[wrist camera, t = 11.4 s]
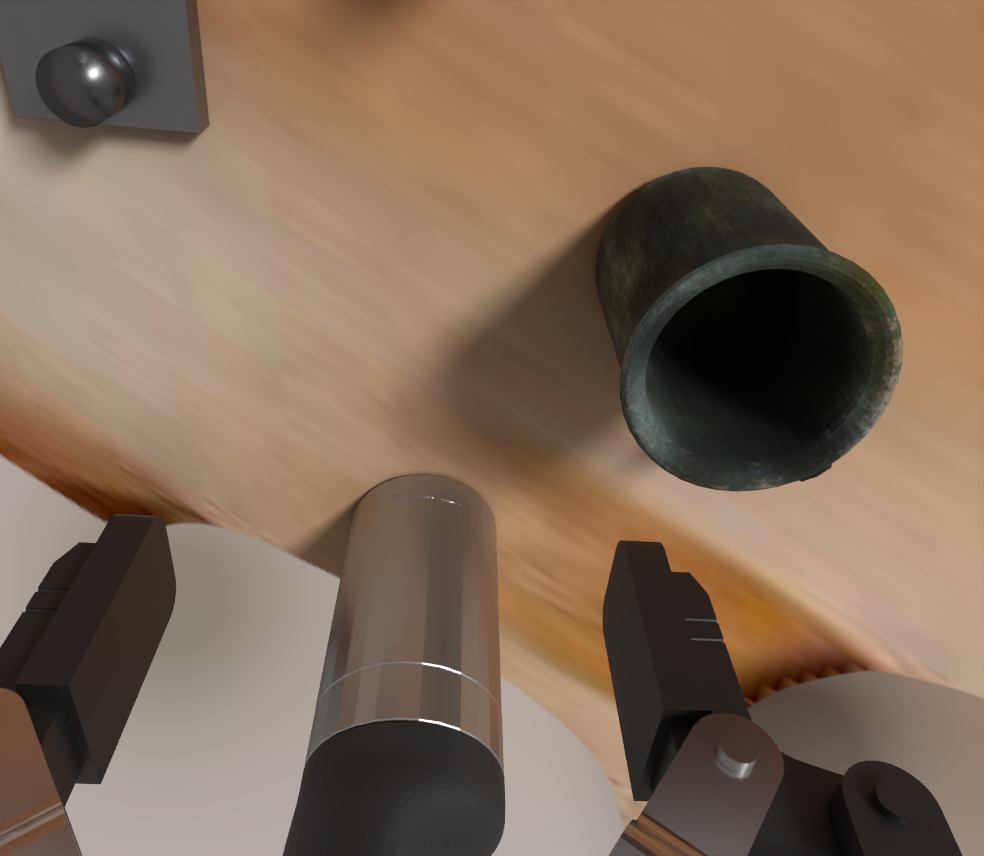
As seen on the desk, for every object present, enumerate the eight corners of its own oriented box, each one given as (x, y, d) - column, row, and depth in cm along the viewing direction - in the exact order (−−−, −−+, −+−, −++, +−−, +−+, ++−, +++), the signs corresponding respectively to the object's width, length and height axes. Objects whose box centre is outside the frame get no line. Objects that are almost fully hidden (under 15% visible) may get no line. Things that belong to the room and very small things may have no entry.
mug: (740, 104, 36) (839, 185, 26) (855, 333, 43) (968, 465, 33) (543, 237, 40) (566, 352, 30) (679, 429, 47) (734, 575, 37)
